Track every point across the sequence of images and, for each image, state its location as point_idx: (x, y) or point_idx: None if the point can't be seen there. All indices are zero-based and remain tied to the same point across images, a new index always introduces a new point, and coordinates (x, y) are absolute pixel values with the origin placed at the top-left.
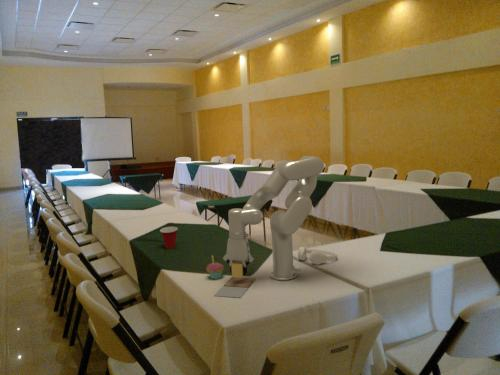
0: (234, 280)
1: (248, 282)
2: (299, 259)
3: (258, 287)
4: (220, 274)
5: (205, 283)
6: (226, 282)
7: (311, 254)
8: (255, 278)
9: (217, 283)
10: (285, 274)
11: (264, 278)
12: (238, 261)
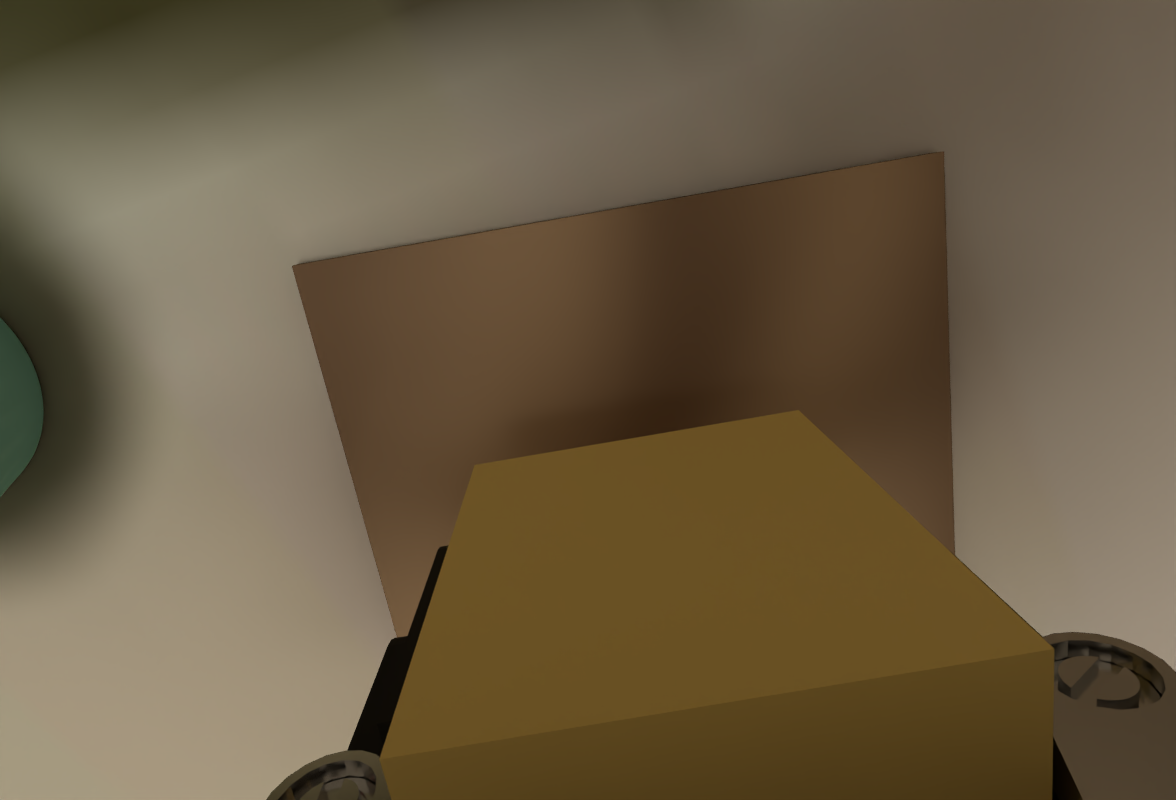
0: (492, 457)
1: (859, 458)
2: None
3: (1135, 587)
4: (1, 424)
5: (4, 747)
6: (391, 613)
7: None
8: (938, 160)
9: (228, 674)
10: None
11: (1147, 23)
12: (658, 798)
